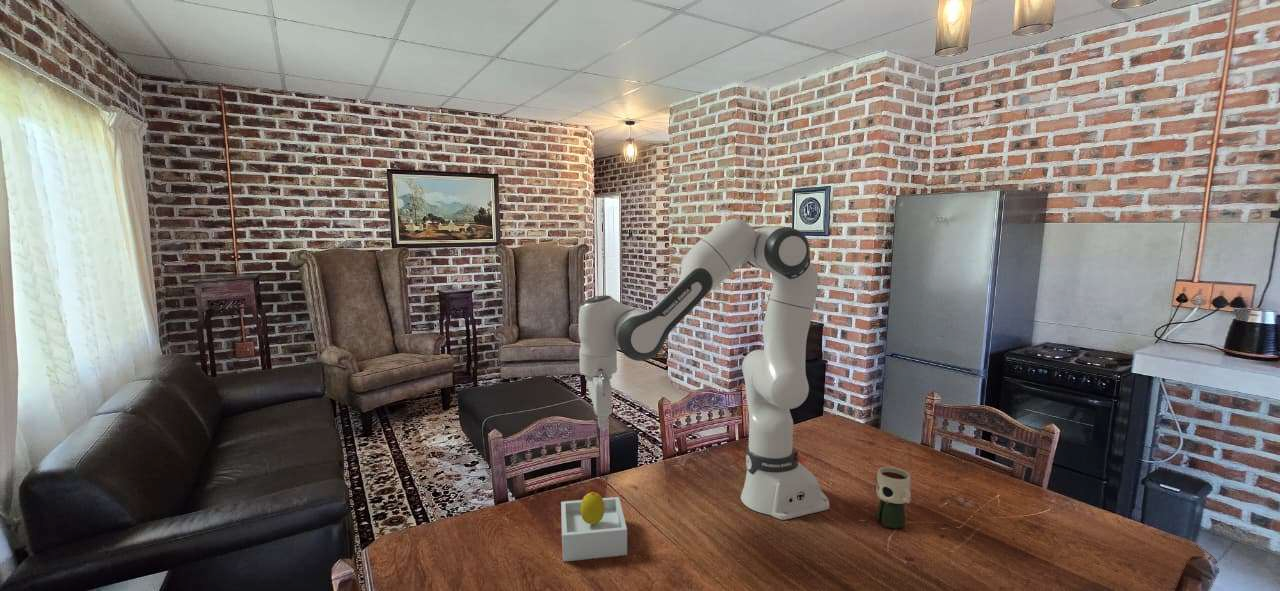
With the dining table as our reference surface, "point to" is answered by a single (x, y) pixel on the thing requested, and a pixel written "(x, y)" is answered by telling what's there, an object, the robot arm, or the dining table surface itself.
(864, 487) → the dining table surface
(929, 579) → the dining table surface
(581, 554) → the white open box
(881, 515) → the character mug
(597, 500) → the lemon
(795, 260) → the robot arm
